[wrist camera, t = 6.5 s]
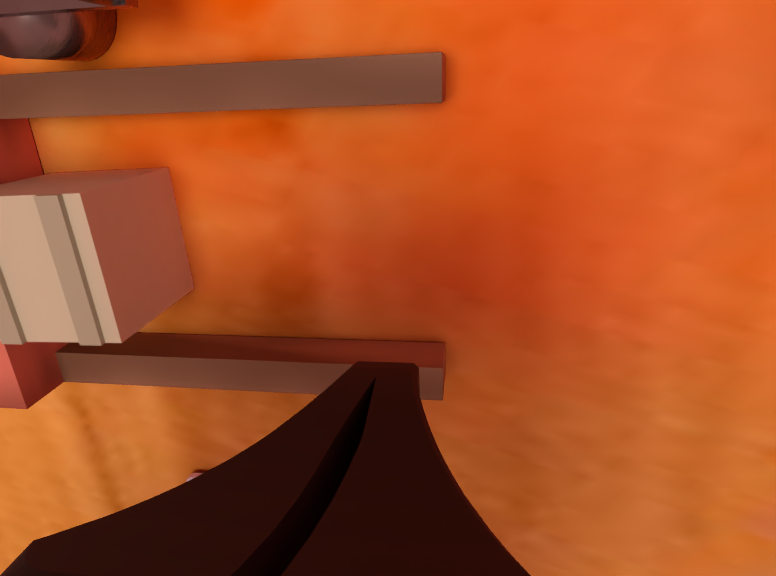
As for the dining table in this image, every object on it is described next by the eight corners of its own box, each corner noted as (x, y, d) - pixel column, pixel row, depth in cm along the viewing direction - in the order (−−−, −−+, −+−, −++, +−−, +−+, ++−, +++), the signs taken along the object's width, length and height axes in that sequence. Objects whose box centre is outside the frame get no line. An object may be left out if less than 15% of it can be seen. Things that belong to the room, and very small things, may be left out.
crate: (195, 287, 22) (117, 345, 17) (88, 288, 23) (-14, 344, 18) (169, 167, 20) (74, 194, 15) (54, 172, 21) (-69, 200, 16)
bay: (445, 372, 21) (440, 433, 18) (68, 357, 24) (-5, 407, 20) (445, 54, 17) (438, 48, 13) (-17, 78, 20) (-128, 78, 16)
